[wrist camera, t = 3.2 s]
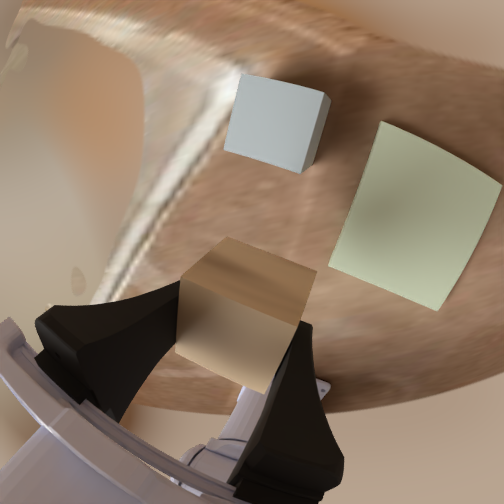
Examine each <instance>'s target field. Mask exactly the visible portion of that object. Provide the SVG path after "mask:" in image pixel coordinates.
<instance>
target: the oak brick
mask: <svg viewBox="0 0 504 504" xmlns="http://www.w3.org/2000/svg"><path fill="white" fill-rule="evenodd" d="M316 273H317V271H315V270H312V269H310V268H307V267H305V266H302V265H299V264H297V263H294V262H292V261H289V260H287V259H284V258H281V257H279V256H276V255H274V254H271V253H269V252H266V251H263V250H261V249H258V248H256V247H253V246H250V245H248V244H245V243H243V242H240V241H238V240H235V239H232V238H230V237H226V238H224V239H223V240H222V241H221V242H220V243H219V244H217V245H216V246H215V247H214V248H213V249H212V250H210V251H209V252H208V253H207V254H206V255H205V256H204V257H202V258H201V259H200V260H199V261H198V262H197V263H195V264H194V265H193V266H192V267H191V268H190V269H189V270H187V271H186V272H185V273H184V274H183V275H182V276H181V278H180V289H179V301H178V315H177V331H176V350H175V353H177V354H179V355H181V356H183V357H185V358H187V359H189V360H191V361H192V362H194V363H196V364H198V365H200V366H202V367H204V368H206V369H208V370H210V371H212V372H215V373H217V374H219V375H221V376H223V377H225V378H227V379H229V380H232V381H234V382H236V383H238V384H241V385H243V386H245V387H247V388H250V389H252V390H254V391H257V392H259V393H262V394H265V392H266V390H267V388H268V386H269V384H270V382H271V380H272V378H273V377H274V375H275V373H276V371H277V369H278V367H279V365H280V363H281V361H282V359H283V356H284V354H285V352H286V350H287V348H288V346H289V344H290V342H291V340H292V338H293V336H294V334H295V331H296V329H297V327H298V324H299V322H300V319H301V316H302V313H303V311H304V308H305V305H306V302H307V299H308V297H309V294H310V291H311V288H312V285H313V282H314V279H315V276H316Z"/></svg>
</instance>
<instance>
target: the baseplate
mask: <svg viewBox="0 0 504 504" xmlns="http://www.w3.org/2000/svg"><path fill="white" fill-rule="evenodd" d="M501 188H502V185H501V184H500V183H498V182H497V181H495V180H494V179H492V178H491V177H489V176H488V175H486V174H485V173H483V172H481V171H480V170H478V169H477V168H475V167H473V166H472V165H470V164H468V163H467V162H465V161H463V160H461V159H460V158H458V157H456V156H454V155H453V154H451V153H449V152H447V151H445V150H443V149H441V148H440V147H438V146H436V145H434V144H432V143H430V142H428V141H426V140H424V139H422V138H419V137H417V136H415V135H413V134H411V133H409V132H407V131H404V130H402V129H400V128H398V127H395V126H393V125H390V124H388V123H386V122H383V121H380V123H379V127H378V130H377V133H376V136H375V139H374V142H373V145H372V149H371V152H370V155H369V158H368V161H367V163H366V166H365V169H364V172H363V175H362V178H361V181H360V183H359V186H358V189H357V192H356V194H355V197H354V200H353V202H352V205H351V208H350V210H349V213H348V216H347V218H346V221H345V223H344V226H343V228H342V231H341V233H340V236H339V238H338V241H337V243H336V246H335V248H334V250H333V253H332V255H331V258H330V261H329V264H328V266H329V267H332V268H334V269H337V270H339V271H342V272H344V273H347V274H349V275H352V276H354V277H356V278H359V279H361V280H364V281H366V282H369V283H371V284H373V285H376V286H378V287H381V288H383V289H385V290H388V291H390V292H393V293H395V294H397V295H400V296H402V297H405V298H407V299H409V300H412V301H414V302H416V303H419V304H421V305H423V306H426V307H428V308H431V309H433V310H435V311H438V310H439V308H440V307H441V305H442V304H443V302H444V301H445V299H446V298H447V296H448V294H449V293H450V291H451V290H452V288H453V286H454V285H455V283H456V281H457V280H458V278H459V276H460V275H461V273H462V271H463V269H464V268H465V266H466V264H467V262H468V260H469V258H470V257H471V255H472V253H473V251H474V249H475V247H476V245H477V243H478V241H479V239H480V237H481V235H482V233H483V231H484V229H485V226H486V224H487V222H488V220H489V217H490V215H491V213H492V210H493V208H494V206H495V203H496V201H497V198H498V196H499V193H500V190H501Z"/></svg>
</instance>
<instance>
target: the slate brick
mask: <svg viewBox="0 0 504 504" xmlns="http://www.w3.org/2000/svg"><path fill="white" fill-rule="evenodd" d="M331 101H332V100H331V99H330V98H329V97H328V96H327V95H326V94H325V93H324V92H321V91H318V90H314V89H310V88H307V87H303V86H299V85H295V84H291V83H287V82H282V81H278V80H273V79H268V78H263V77H258V76H253V75H247V74H241V78H240V81H239V85H238V89H237V94H236V98H235V102H234V106H233V110H232V114H231V119H230V123H229V127H228V132H227V136H226V141H225V145H224V150H226V151H229V152H233V153H236V154H240V155H243V156H247V157H250V158H253V159H256V160H260V161H263V162H266V163H269V164H272V165H275V166H278V167H281V168H284V169H287V170H290V171H293V172H296V173H299V174H301V173H302V172H304V171H305V170H306V169H308V168H309V167H310V166H312V165H313V161H314V158H315V155H316V152H317V148H318V145H319V142H320V138H321V135H322V132H323V128H324V125H325V121H326V118H327V115H328V111H329V108H330V104H331Z"/></svg>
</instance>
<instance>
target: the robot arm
mask: <svg viewBox="0 0 504 504" xmlns="http://www.w3.org/2000/svg"><path fill="white" fill-rule="evenodd" d="M179 289H180V280H179V281H177V282H175V283H172V284H170V285H167V286H165V287H162V288H160V289H157V290H154V291H151V292H148V293H145V294H142V295H139V296H136V297H133V298H129V299H125V300H121V301H116V302H110V303H103V304H96V305H83V306H61V305H54V306H53V307H51V308H50V309H49V310H47V311H46V312H45V313H44V314H42V315H41V316H39V317H38V318H37V319H36V320H35V327H36V330H37V333H38V335H39V337H40V340H41V342H42V345H43V347H44V350H43V351H41V352H40V353H39V354H37V353H36V352H35V351H34V349H33V348H32V347H31V346H30V345H29V344H28V343H27V342H26V339H25V337H24V334H23V333H22V331H21V330H20V328H19V327H18V326H17V325H16V323H15V322H14V321H13V320H12V318H10V317H8V318H7V319H5V320H4V321H3V322H2V323H0V377H1V378H2V380H3V381H4V382H5V384H6V385H7V386H8V388H9V389H10V390H11V392H12V393H13V394H14V395H15V397H16V398H17V399H18V400H19V402H20V403H21V404H22V405H23V406H24V407H25V409H26V410H27V411H28V412H29V413H30V414H31V415H32V416H33V418H34V419H35V420H36V421H37V422H38V423H39V424H40V425H41V427H40V429H38V430H37V431H36V432H35V433H34V434H33V435H32V437H31V438H30V439H29V440H28V441H27V442H26V443H25V444H24V445H23V446H22V447H21V448H20V449H19V450H18V451H17V452H16V453H15V455H14V456H13V457H12V458H11V459H10V460H9V461H8V462H7V463H6V464H5V465H4V466H3V468H2V469H1V470H0V504H318V502H319V501H321V500H322V499H323V496H324V493H325V492H326V491H328V490H330V489H332V488H335V487H336V486H338V485H339V484H340V483H341V480H342V477H343V471H344V456H343V454H342V452H341V450H340V448H339V447H338V445H337V443H336V440H335V438H334V436H333V434H332V431H331V429H330V427H329V424H328V421H327V418H326V416H325V413H324V410H323V407H322V403H321V399H322V398H323V397H324V396H325V395H326V393H327V392H328V391H329V390H330V387H331V385H330V384H329V383H327V382H325V381H322V380H319V379H317V378H316V377H315V370H314V362H313V351H312V330H313V327H312V325H311V324H309V323H306V322H304V321H301V320H300V322H299V324H298V327H297V329H296V331H295V334H294V336H293V338H292V340H291V342H290V344H289V346H288V348H287V350H286V352H285V354H284V356H283V359H282V361H281V363H280V365H279V367H278V369H277V371H276V373H275V375H274V377H273V378H272V380H271V382H270V384H269V386H268V388H267V390H266V392H265V394H262V393H259V392H257V391H254V390H252V389H250V388H247V387H245V386H243V387H242V390H241V392H240V394H239V397H238V399H237V401H238V403H237V405H236V407H235V408H234V410H233V412H232V414H231V416H230V418H229V420H228V421H227V423H226V425H225V427H224V429H223V430H222V432H221V434H220V436H219V437H218V439H215V438H211V439H210V440H209V442H208V444H207V445H203V444H199V445H197V446H195V447H193V448H191V449H189V450H188V451H187V452H185V453H184V454H183V456H182V457H181V458H180V460H179V461H178V460H176V459H174V458H172V457H171V456H169V455H167V454H165V453H164V452H162V451H160V450H158V449H157V448H155V447H153V446H152V445H150V444H148V443H147V442H145V441H144V440H142V439H140V438H139V437H137V436H136V435H134V434H133V433H131V432H130V431H128V430H127V429H125V428H124V427H122V426H121V425H120V424H119V422H120V420H121V418H122V416H123V415H124V413H125V411H126V409H127V408H128V406H129V404H130V403H131V401H132V400H133V398H134V396H135V395H136V393H137V392H138V390H139V389H140V387H141V386H142V384H143V383H144V381H145V380H146V378H147V377H148V375H149V374H150V373H151V371H152V370H153V368H154V367H155V366H156V364H157V363H158V362H159V361H160V359H161V358H162V357H163V356H164V355H165V354H166V353H167V352H168V350H169V349H170V348H171V347H172V346H173V345H174V344H175V343H176V331H177V315H178V301H179ZM84 418H85V419H86V420H87V421H86V420H85V419H84ZM90 423H91V424H92V425H93V426H92V425H91V424H90ZM95 427H96V428H97V429H96V428H95ZM99 430H100V431H101V432H102V433H101V432H100V431H99ZM103 433H104V434H105V435H106V436H105V435H104V434H103ZM107 436H108V437H109V438H110V439H109V438H108V437H107ZM111 439H112V440H113V441H112V440H111ZM115 442H116V443H117V444H116V443H115ZM118 444H119V445H120V446H119V445H118ZM122 447H123V448H122ZM125 449H126V450H127V451H126V450H125ZM128 451H129V452H130V453H129V452H128ZM131 453H132V454H133V455H132V454H131ZM134 455H135V456H136V457H135V456H134ZM137 457H138V458H140V459H141V460H143V461H144V462H146V463H148V464H149V465H151V466H153V467H154V468H156V469H158V470H160V471H162V472H163V473H165V474H167V475H168V476H170V477H171V479H170V480H169V479H167V478H165V477H164V476H162V475H161V474H159V473H157V472H156V471H154V470H153V469H151V468H150V467H148V466H147V465H146V464H145V463H143V462H142V461H141V460H139V459H138V458H137Z"/></svg>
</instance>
